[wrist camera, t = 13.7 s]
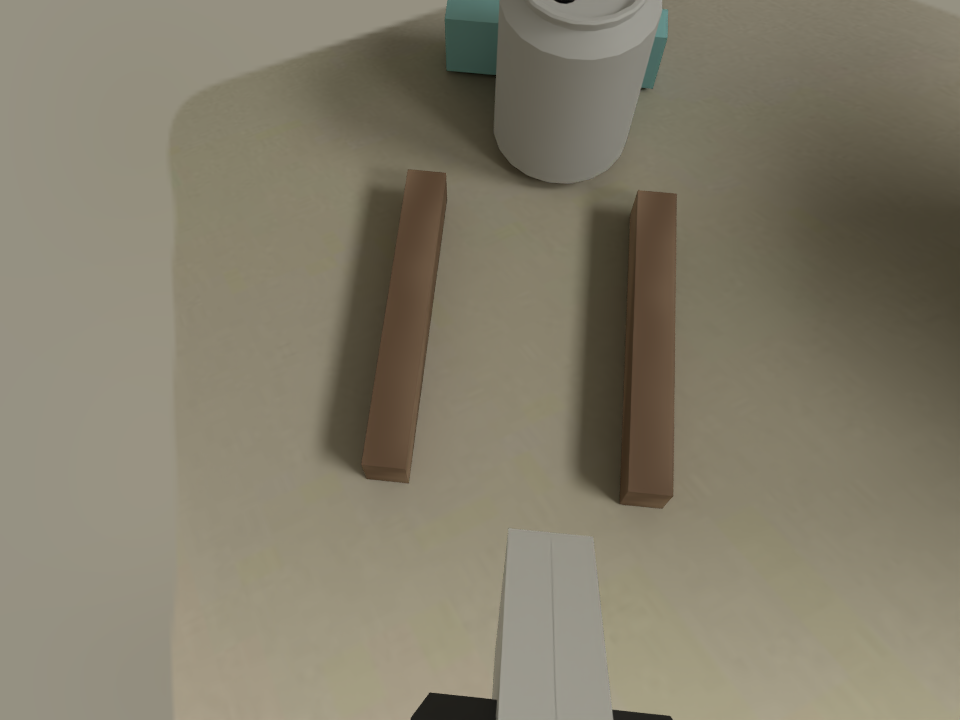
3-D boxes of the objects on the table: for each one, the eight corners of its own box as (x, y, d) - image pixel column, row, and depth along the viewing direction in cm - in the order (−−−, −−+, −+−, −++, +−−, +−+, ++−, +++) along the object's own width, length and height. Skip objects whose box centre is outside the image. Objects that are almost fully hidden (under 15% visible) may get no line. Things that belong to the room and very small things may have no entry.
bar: (653, 61, 51) (667, 9, 47) (652, 88, 50) (667, 37, 46) (450, 44, 51) (449, -10, 47) (446, 70, 50) (444, 18, 47)
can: (486, 89, 50) (491, -91, 39) (613, 80, 51) (654, -101, 40) (500, 198, 47) (510, 37, 36) (635, 187, 48) (686, 25, 37)
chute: (666, 218, 47) (676, 193, 45) (662, 508, 41) (673, 496, 38) (410, 195, 47) (407, 169, 45) (366, 479, 41) (361, 464, 39)
